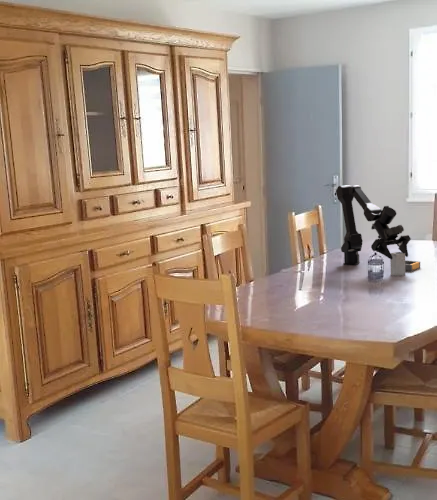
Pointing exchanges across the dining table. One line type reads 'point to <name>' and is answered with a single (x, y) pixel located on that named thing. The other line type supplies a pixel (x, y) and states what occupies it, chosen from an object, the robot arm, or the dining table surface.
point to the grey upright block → (398, 264)
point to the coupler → (411, 265)
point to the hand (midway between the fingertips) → (399, 257)
